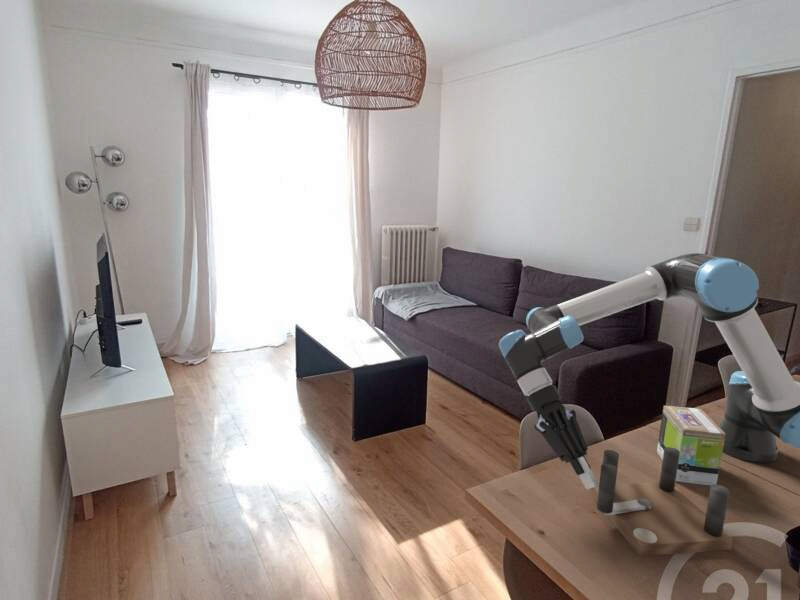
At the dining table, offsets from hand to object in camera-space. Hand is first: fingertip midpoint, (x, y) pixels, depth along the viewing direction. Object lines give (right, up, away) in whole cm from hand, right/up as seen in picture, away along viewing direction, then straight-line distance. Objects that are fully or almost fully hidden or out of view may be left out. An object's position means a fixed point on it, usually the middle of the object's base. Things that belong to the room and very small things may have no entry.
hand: (592, 487), depth 104 cm
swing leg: (+7, -5, +1) cm, 9 cm away
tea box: (+34, -4, +22) cm, 40 cm away
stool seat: (+15, -8, +1) cm, 17 cm away
